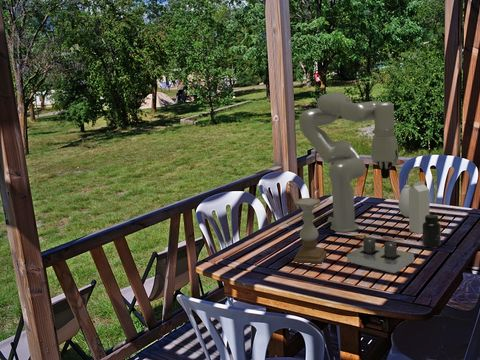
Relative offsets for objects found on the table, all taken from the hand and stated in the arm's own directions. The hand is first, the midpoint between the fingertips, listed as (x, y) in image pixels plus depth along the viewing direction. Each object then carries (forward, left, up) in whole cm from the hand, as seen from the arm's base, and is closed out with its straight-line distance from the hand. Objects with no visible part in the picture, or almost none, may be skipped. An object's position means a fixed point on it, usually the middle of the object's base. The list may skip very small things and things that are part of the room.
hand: (385, 177), depth 214 cm
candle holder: (-13, -35, -27) cm, 46 cm away
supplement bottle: (+17, +5, -27) cm, 33 cm away
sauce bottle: (-10, +35, -27) cm, 46 cm away
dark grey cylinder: (+15, -22, -27) cm, 38 cm away
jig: (+10, -22, -27) cm, 36 cm away
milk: (+5, +18, -27) cm, 33 cm away
